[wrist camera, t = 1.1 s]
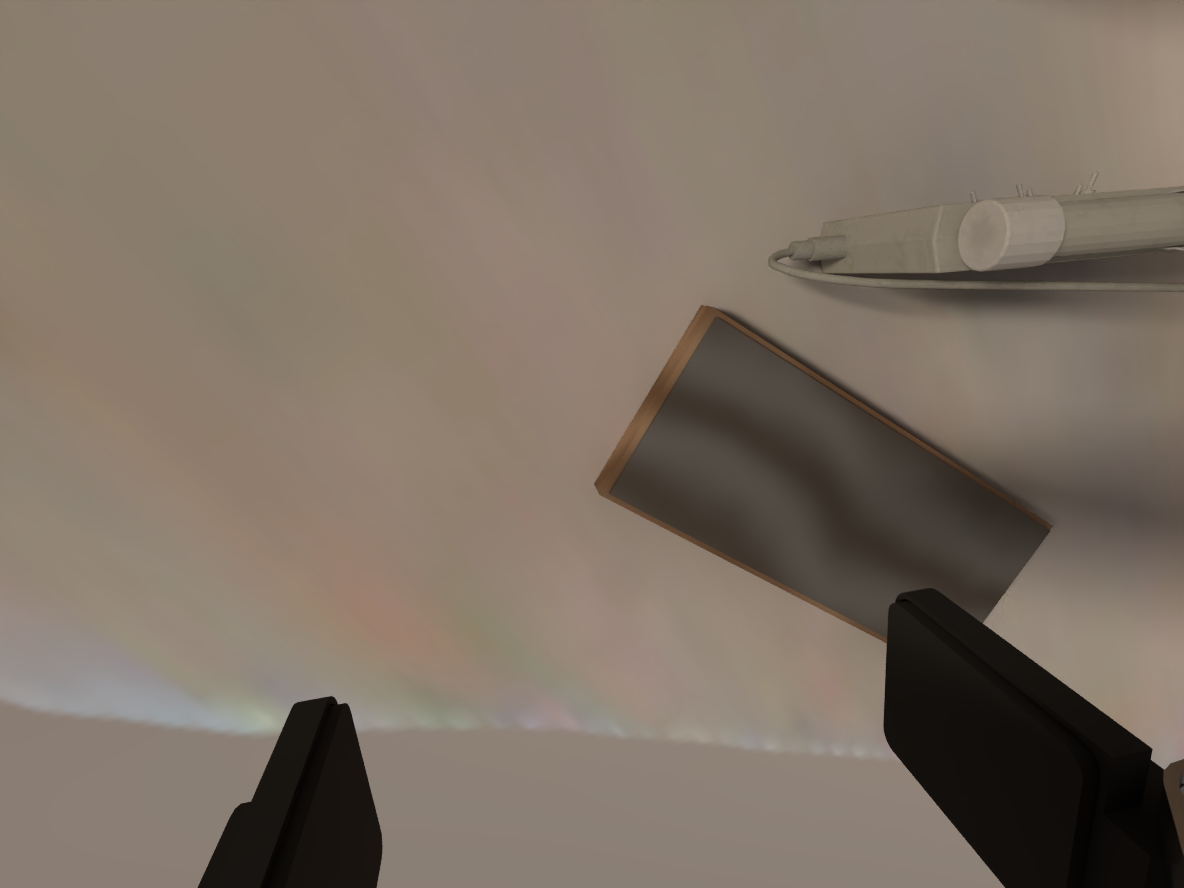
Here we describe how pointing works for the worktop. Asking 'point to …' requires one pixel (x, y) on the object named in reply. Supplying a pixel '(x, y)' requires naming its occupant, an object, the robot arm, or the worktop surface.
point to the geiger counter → (997, 239)
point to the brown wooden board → (810, 484)
